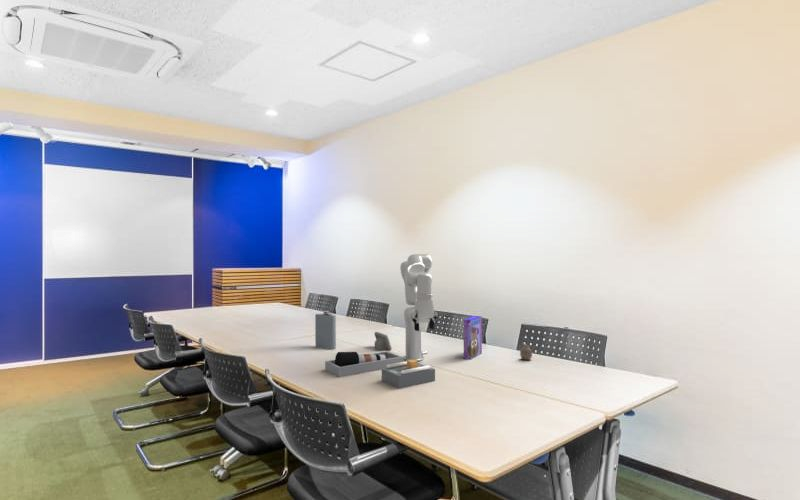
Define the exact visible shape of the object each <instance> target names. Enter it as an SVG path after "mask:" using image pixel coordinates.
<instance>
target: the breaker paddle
mask: <svg viewBox="0 0 800 500" xmlns="http://www.w3.org/2000/svg"><path fill="white" fill-rule="evenodd" d="M418 363H419V361H416V360H407V368H410V369H412V368H417V367H418Z"/></svg>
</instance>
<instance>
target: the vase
mask: <svg viewBox="0 0 800 500" xmlns="http://www.w3.org/2000/svg"><path fill="white" fill-rule="evenodd" d="M519 355H520V359H522V360H523V361H530V360H531V359H532V357H533V352H532V349H531V348H530V346H529V345H528V344H523V347H521V348H520V351H519Z"/></svg>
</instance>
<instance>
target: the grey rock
mask: <svg viewBox="0 0 800 500" xmlns="http://www.w3.org/2000/svg"><path fill="white" fill-rule="evenodd" d="M374 337H375V339H376V340H375V341H374V349H376V350H379V351H380V352H381V351H382V352H383V351H391V350H393V347H392V344H391V342H390V338H389V336H388V334H385V333H382V332H380V331H374Z"/></svg>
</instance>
